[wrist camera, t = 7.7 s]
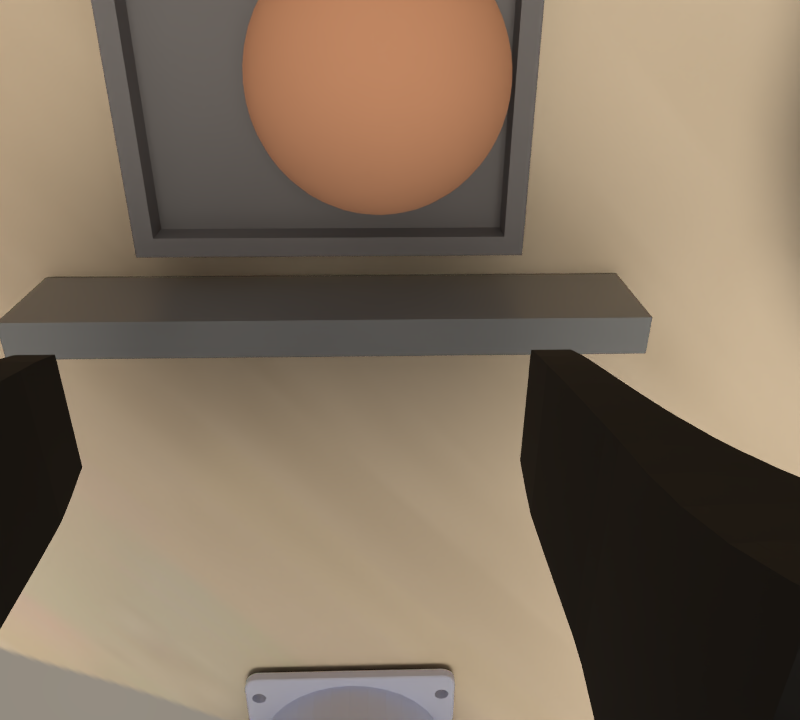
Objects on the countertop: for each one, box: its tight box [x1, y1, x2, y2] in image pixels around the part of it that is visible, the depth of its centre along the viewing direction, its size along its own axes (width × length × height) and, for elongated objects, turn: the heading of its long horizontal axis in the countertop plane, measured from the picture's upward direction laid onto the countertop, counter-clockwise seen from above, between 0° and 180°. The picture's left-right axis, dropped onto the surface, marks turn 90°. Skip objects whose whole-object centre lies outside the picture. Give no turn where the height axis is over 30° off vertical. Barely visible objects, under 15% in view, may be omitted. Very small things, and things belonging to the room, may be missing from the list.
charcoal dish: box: [91, 0, 544, 257], centre depth 17 cm, size 9×10×1 cm
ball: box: [242, 0, 512, 215], centre depth 15 cm, size 6×6×6 cm
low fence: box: [0, 274, 652, 359], centre depth 19 cm, size 1×16×3 cm, turn 90°
